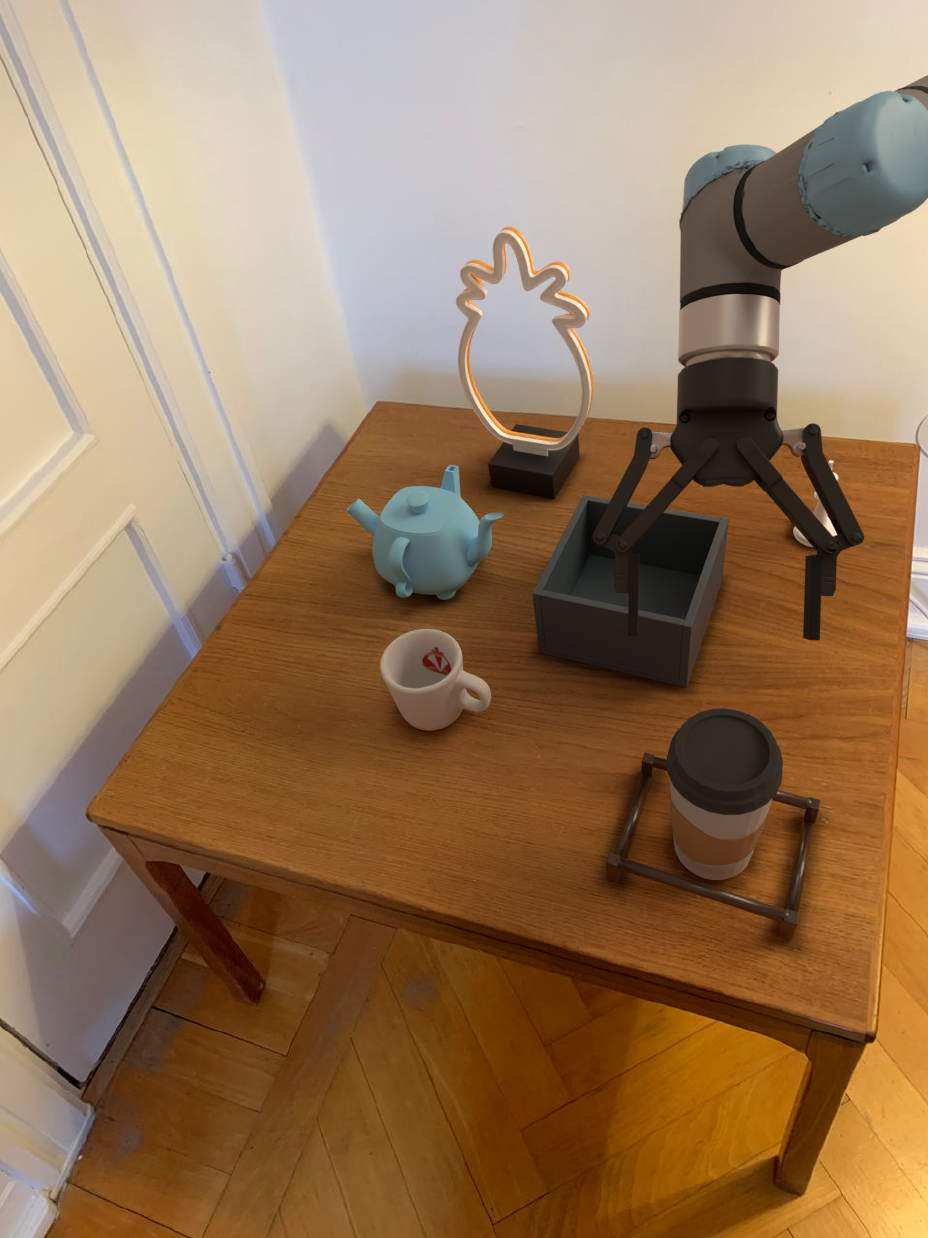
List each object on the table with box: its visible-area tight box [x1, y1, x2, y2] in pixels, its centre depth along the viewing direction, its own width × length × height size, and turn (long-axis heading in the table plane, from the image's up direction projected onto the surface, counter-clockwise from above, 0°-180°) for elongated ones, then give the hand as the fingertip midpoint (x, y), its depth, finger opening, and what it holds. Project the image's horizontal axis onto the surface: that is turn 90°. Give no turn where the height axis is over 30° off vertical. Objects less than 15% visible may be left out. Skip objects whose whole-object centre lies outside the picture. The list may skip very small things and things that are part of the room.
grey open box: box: [531, 494, 730, 688], centre depth 89 cm, size 16×16×9 cm
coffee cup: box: [666, 708, 784, 881], centre depth 68 cm, size 8×8×15 cm
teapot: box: [346, 464, 504, 601], centre depth 97 cm, size 15×14×11 cm
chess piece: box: [792, 459, 839, 548], centre depth 93 cm, size 5×5×10 cm
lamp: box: [455, 226, 595, 500], centre depth 100 cm, size 17×9×32 cm, turn 64°
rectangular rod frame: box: [605, 751, 822, 941], centre depth 72 cm, size 15×11×3 cm
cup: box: [379, 628, 492, 732], centre depth 84 cm, size 11×8×8 cm
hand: (720, 637), depth 68 cm, fingers open, 13 cm apart
